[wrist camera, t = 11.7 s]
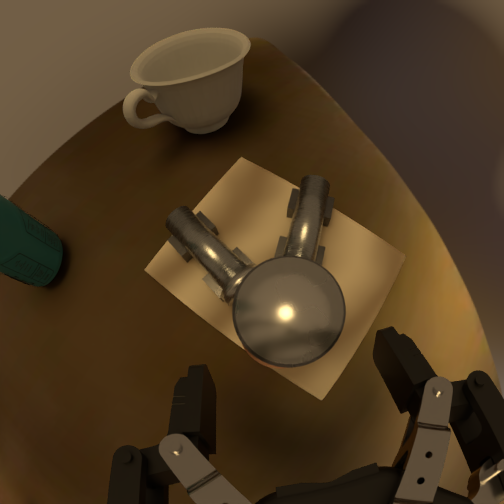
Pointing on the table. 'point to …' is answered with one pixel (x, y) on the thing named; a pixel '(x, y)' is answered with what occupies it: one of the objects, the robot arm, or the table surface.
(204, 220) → the shaft
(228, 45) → the teacup
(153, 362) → the table surface
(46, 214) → the table surface
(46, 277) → the beverage bottle
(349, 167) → the table surface
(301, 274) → the disc
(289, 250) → the shaft
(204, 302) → the base board
